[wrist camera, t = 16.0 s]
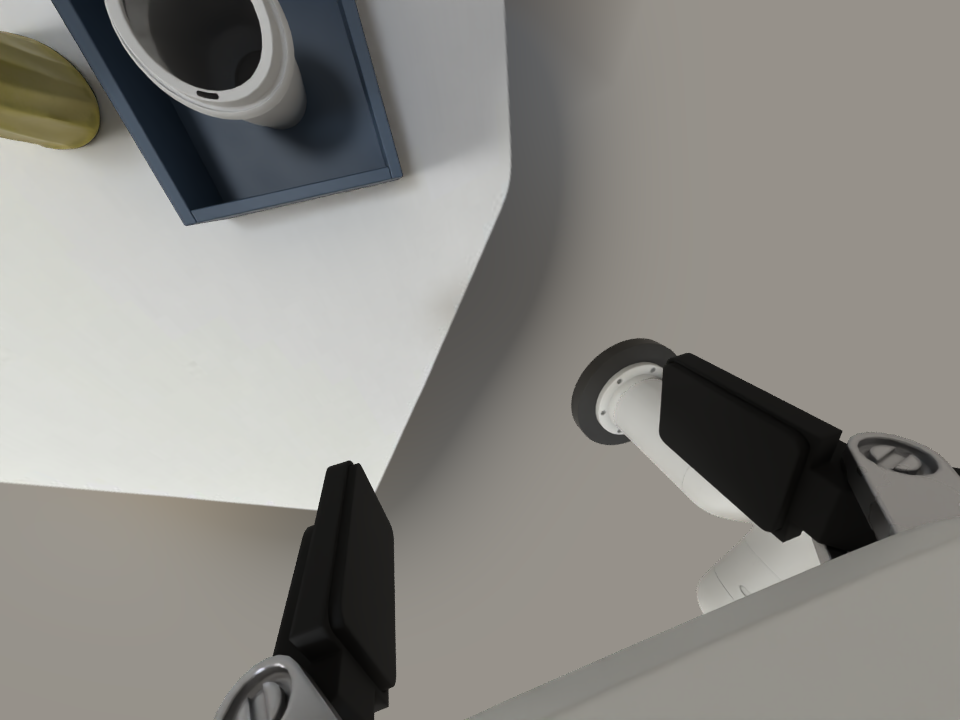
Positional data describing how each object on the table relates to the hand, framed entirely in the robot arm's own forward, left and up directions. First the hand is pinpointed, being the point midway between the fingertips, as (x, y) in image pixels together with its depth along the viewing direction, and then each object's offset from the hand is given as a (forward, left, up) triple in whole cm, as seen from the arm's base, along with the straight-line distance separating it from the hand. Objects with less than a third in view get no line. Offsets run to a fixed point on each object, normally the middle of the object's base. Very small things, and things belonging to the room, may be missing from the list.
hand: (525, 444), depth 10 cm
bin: (+7, -15, -27) cm, 32 cm away
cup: (+7, -15, -27) cm, 31 cm away
